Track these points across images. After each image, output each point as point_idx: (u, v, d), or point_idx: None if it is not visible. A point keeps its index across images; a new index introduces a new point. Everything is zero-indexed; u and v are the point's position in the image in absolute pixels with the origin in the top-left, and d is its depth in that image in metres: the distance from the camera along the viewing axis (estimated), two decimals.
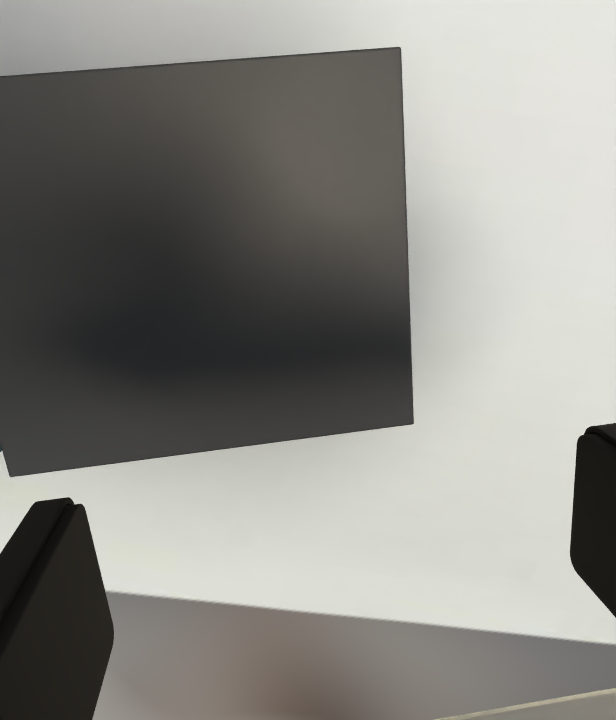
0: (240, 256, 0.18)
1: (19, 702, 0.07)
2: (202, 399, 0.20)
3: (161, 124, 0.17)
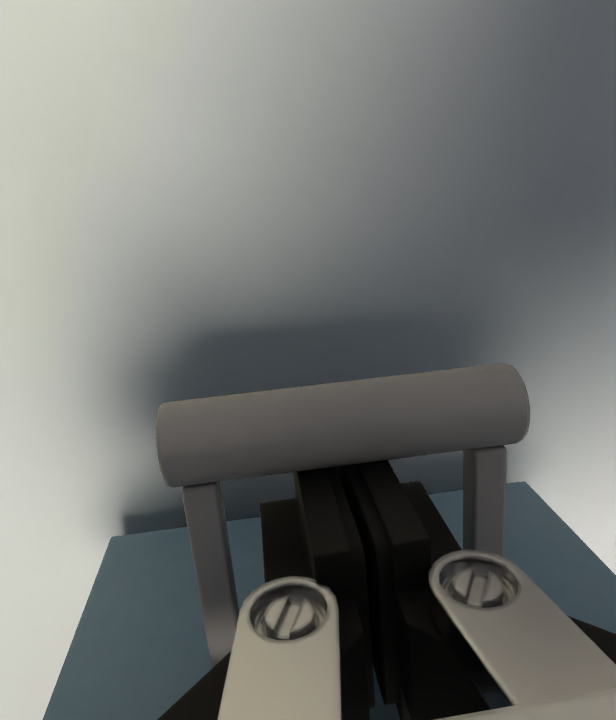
0: None
1: None
2: None
3: None
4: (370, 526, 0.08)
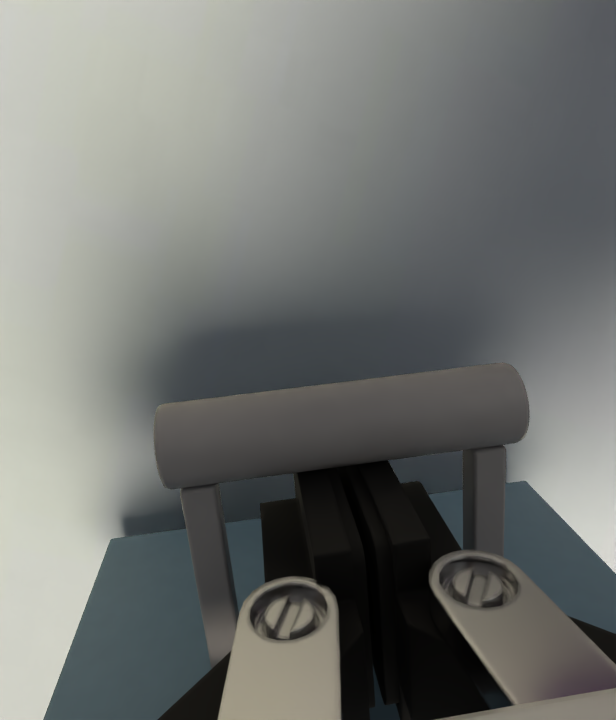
0: None
1: None
2: None
3: None
4: (370, 526, 0.08)
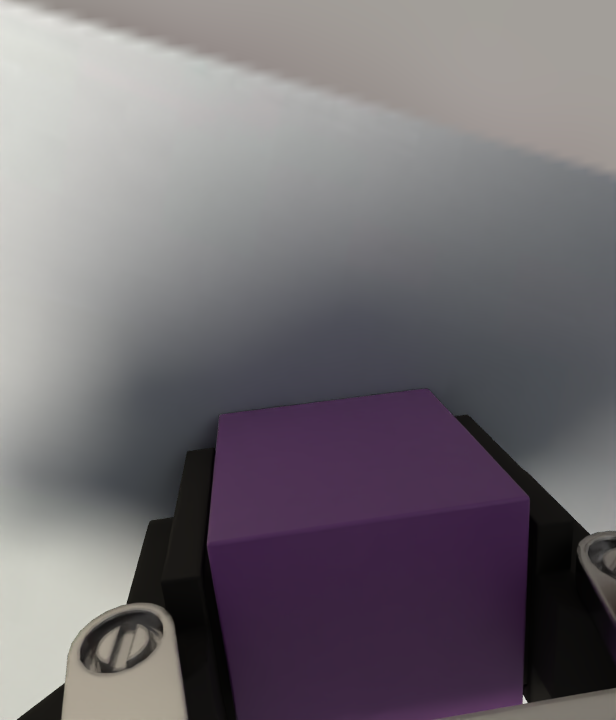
0: None
1: None
2: None
3: None
4: None
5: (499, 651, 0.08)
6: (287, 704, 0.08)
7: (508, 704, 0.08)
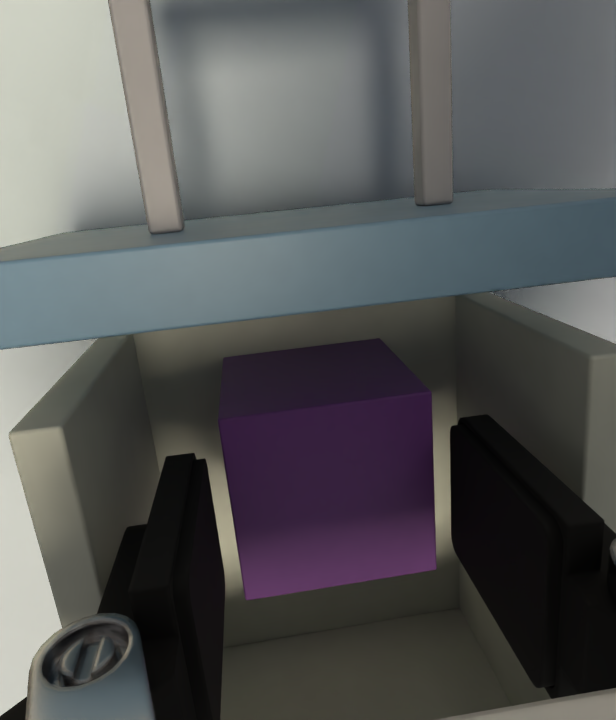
0: None
1: (198, 610, 0.08)
2: None
3: None
4: (532, 509, 0.08)
5: (417, 503, 0.12)
6: (272, 539, 0.11)
7: (425, 543, 0.12)
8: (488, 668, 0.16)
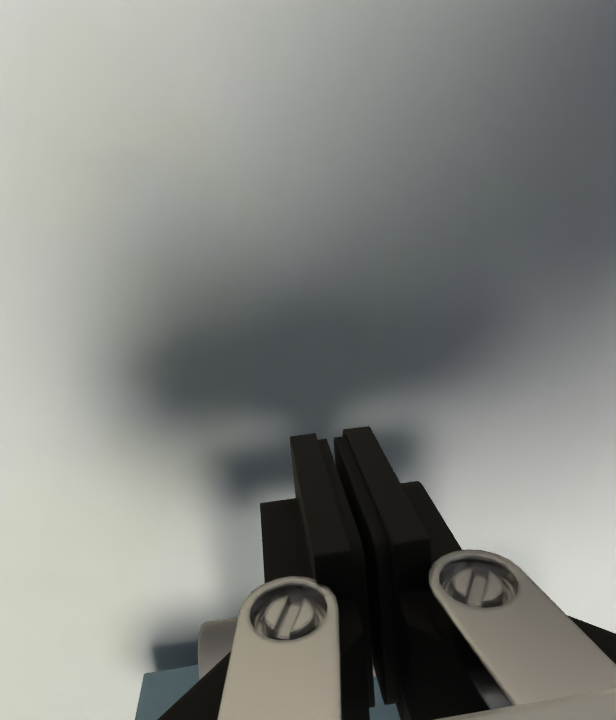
0: None
1: None
2: None
3: None
4: (370, 526, 0.08)
5: None
6: None
7: None
8: None
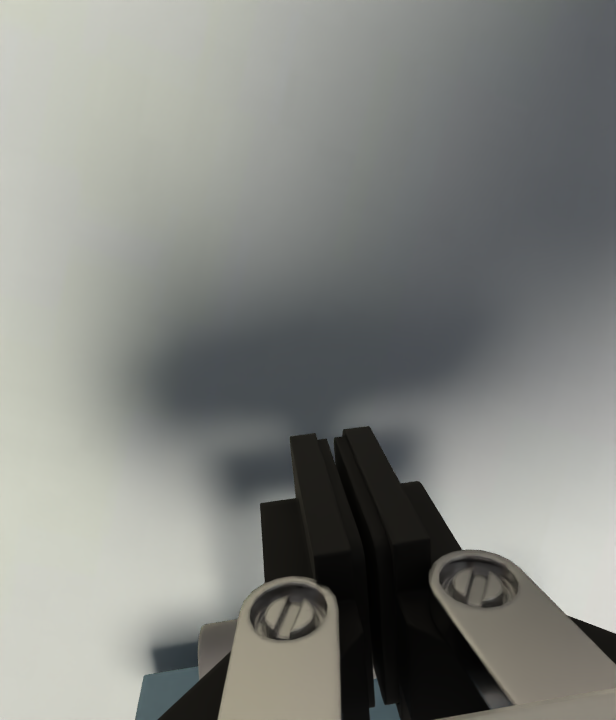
0: None
1: None
2: None
3: None
4: (370, 526, 0.08)
5: None
6: None
7: None
8: None
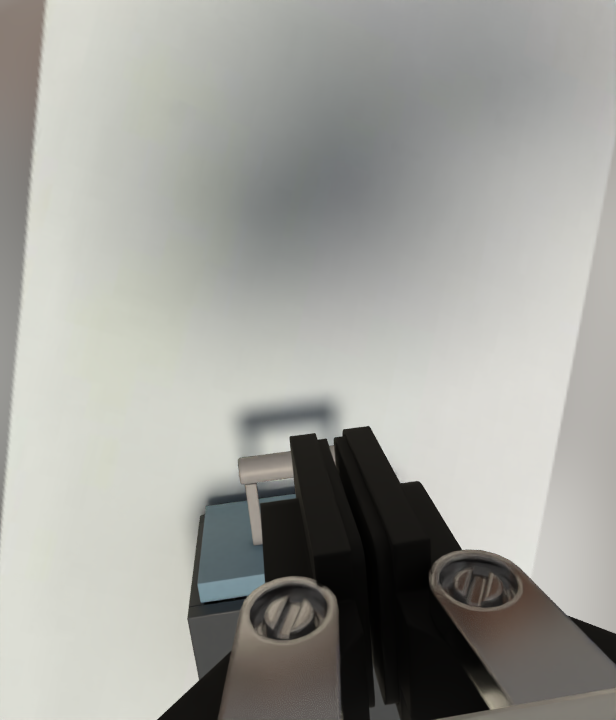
0: None
1: None
2: None
3: None
4: (370, 526, 0.08)
5: None
6: None
7: None
8: None
